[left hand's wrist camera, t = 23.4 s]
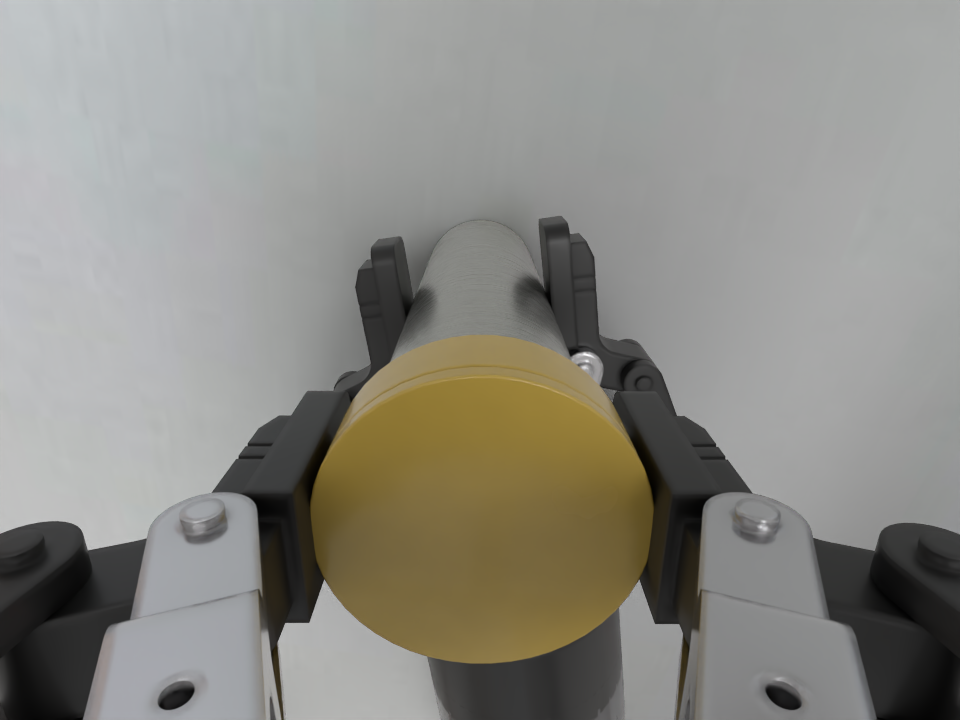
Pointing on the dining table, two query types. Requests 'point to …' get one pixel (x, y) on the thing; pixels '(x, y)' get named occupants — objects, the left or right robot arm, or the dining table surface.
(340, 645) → the dining table surface
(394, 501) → the lid
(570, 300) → the right robot arm
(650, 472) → the left robot arm
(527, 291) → the silver metal cylinder
